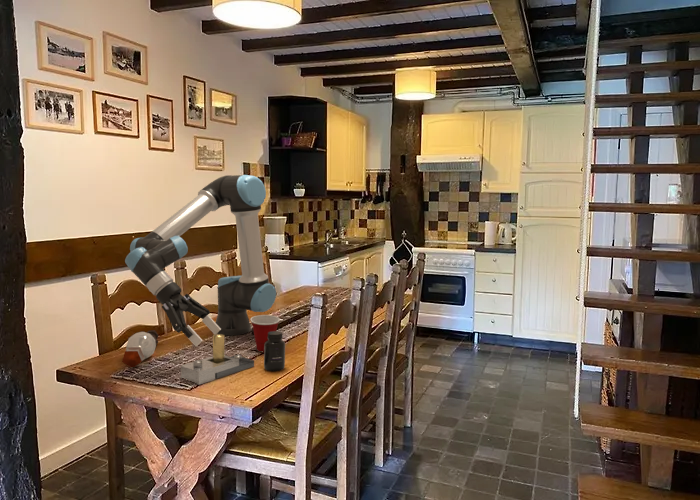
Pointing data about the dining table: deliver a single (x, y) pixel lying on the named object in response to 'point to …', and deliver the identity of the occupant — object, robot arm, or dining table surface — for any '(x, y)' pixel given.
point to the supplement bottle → (274, 352)
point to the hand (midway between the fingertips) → (209, 337)
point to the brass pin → (218, 348)
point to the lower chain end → (243, 365)
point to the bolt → (154, 335)
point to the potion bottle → (139, 348)
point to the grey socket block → (206, 369)
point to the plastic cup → (263, 328)
